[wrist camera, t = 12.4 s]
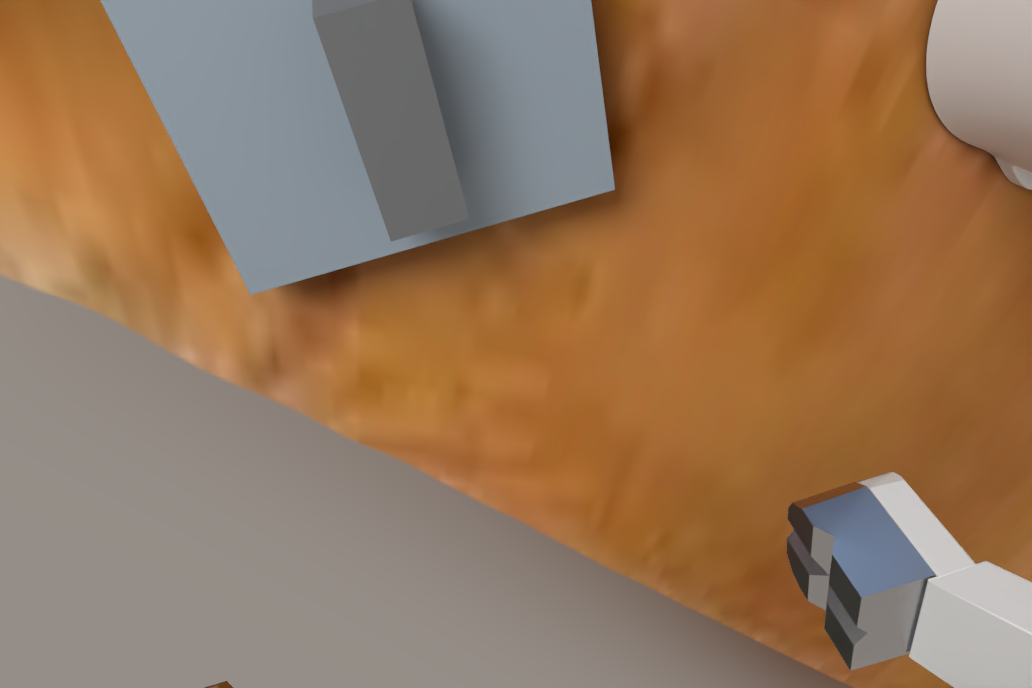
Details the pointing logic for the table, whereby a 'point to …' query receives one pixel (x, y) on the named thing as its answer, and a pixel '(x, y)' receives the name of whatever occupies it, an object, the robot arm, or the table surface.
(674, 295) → the table surface
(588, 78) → the lid
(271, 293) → the table surface
